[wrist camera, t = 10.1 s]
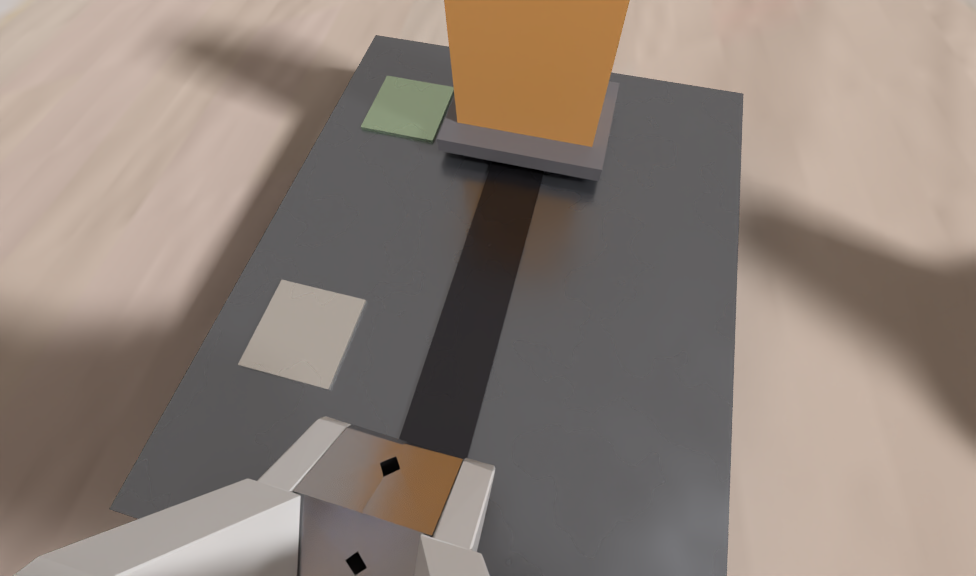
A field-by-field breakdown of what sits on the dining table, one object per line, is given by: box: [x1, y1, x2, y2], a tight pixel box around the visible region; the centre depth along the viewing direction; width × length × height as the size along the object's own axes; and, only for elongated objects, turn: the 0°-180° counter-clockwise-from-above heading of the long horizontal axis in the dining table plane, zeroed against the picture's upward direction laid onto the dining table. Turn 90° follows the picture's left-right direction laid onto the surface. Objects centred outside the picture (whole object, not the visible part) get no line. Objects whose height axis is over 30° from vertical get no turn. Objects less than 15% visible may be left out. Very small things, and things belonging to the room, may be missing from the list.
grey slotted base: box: [110, 35, 743, 576], centre depth 17 cm, size 20×16×3 cm
